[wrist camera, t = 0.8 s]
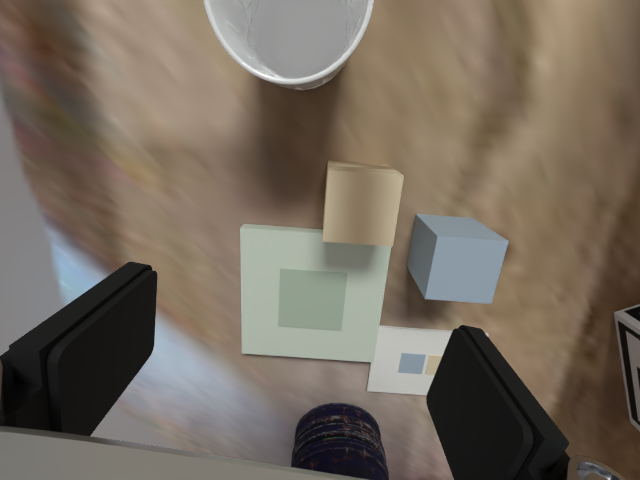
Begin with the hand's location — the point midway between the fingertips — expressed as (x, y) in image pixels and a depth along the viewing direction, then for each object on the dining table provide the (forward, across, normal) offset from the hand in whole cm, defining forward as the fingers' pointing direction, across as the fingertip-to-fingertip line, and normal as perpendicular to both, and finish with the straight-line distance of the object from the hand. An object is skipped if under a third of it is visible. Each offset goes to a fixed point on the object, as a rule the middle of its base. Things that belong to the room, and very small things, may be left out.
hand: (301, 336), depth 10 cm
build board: (+19, -2, +9) cm, 21 cm away
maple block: (+19, -3, -1) cm, 19 cm away
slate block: (+19, -12, +1) cm, 22 cm away
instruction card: (+19, -14, +14) cm, 28 cm away
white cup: (+19, +3, -12) cm, 23 cm away
